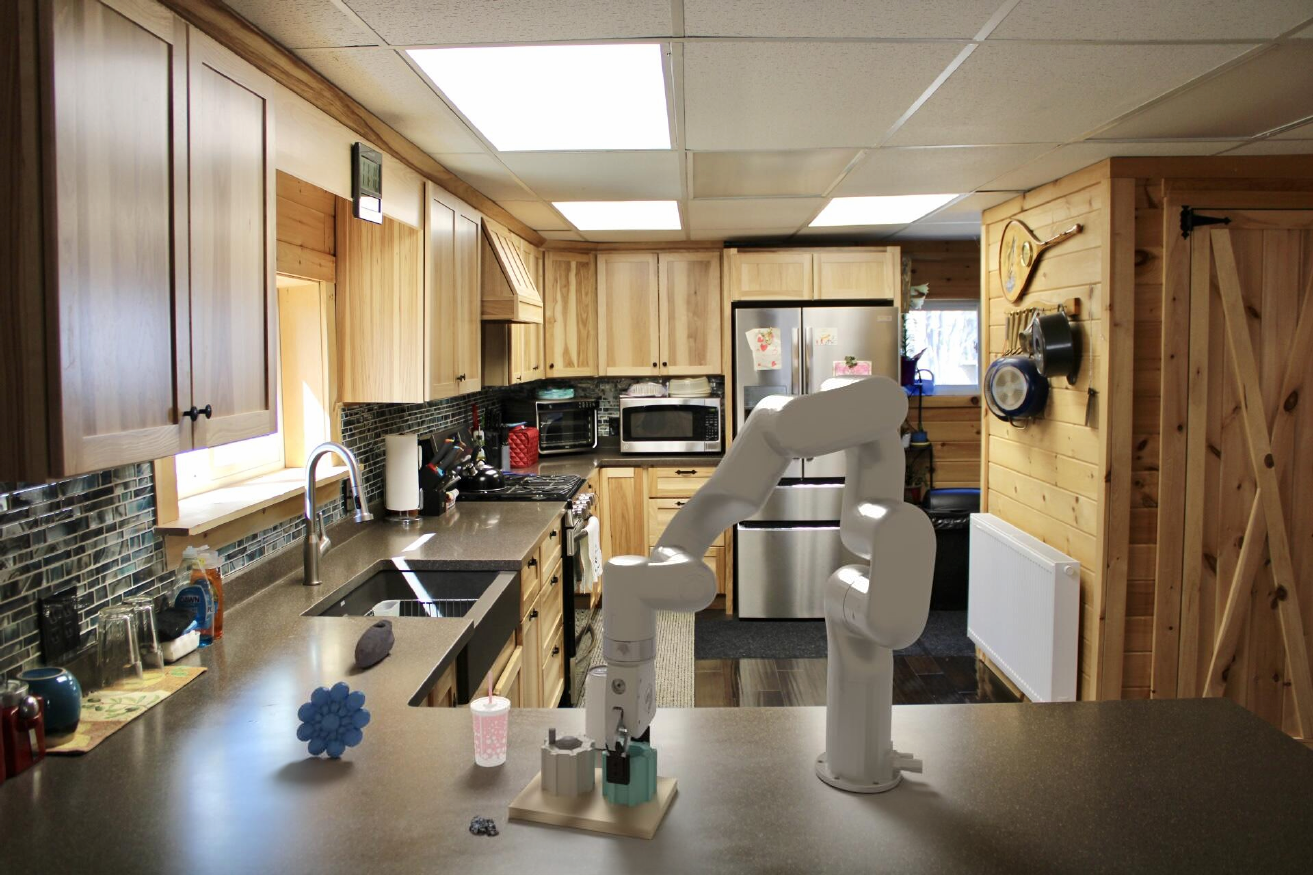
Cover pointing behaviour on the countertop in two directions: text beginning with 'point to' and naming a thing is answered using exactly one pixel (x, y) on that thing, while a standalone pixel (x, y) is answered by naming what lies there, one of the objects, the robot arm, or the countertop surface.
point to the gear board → (594, 809)
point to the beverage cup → (490, 728)
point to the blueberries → (483, 826)
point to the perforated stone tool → (374, 643)
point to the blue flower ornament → (332, 720)
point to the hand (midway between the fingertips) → (628, 766)
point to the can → (596, 706)
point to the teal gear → (634, 776)
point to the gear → (567, 764)
